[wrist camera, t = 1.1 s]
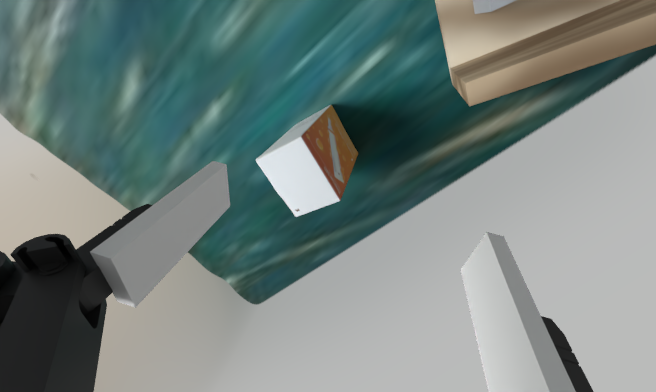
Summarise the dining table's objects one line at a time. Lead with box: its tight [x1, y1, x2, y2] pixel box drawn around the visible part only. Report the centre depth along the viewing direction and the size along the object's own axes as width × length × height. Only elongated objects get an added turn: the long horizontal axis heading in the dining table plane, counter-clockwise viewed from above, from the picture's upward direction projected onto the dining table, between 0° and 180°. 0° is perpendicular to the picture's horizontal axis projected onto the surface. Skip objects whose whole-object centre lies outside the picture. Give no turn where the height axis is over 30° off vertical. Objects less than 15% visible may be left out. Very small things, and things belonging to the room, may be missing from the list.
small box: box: [256, 105, 358, 217], centre depth 33 cm, size 8×6×13 cm
